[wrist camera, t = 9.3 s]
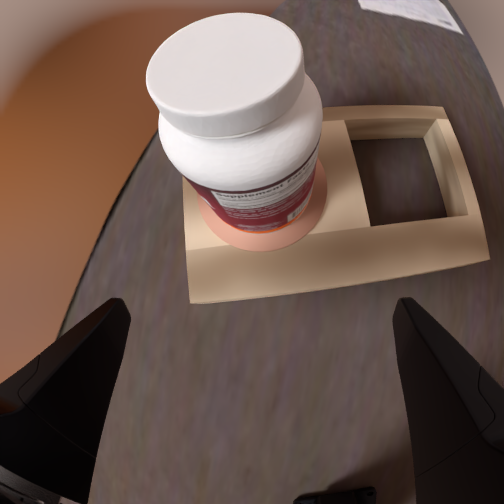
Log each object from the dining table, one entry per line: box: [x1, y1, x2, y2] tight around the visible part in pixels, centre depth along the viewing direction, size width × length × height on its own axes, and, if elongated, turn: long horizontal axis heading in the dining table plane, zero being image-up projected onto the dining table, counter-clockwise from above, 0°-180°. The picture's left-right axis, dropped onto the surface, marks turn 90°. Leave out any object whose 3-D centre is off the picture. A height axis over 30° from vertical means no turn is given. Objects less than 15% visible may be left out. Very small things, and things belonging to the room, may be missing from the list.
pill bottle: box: [146, 13, 323, 235], centre depth 12 cm, size 6×6×11 cm
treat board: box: [183, 105, 490, 304], centre depth 19 cm, size 12×20×3 cm, turn 97°
